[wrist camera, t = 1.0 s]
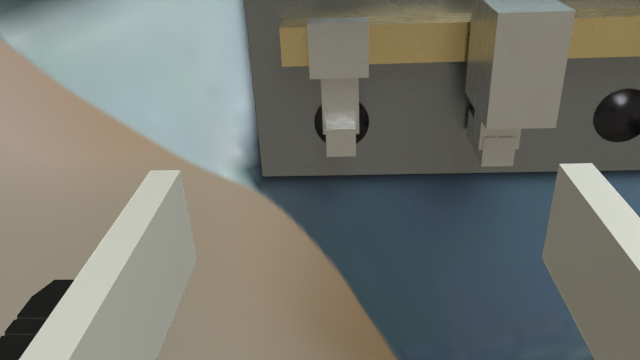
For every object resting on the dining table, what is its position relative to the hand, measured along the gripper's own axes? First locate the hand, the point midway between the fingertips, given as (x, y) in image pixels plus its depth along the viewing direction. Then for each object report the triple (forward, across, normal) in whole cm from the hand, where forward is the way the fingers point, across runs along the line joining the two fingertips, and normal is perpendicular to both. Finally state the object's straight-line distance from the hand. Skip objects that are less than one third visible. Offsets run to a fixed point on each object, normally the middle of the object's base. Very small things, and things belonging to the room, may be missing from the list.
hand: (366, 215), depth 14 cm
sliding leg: (+18, +7, -2) cm, 20 cm away
